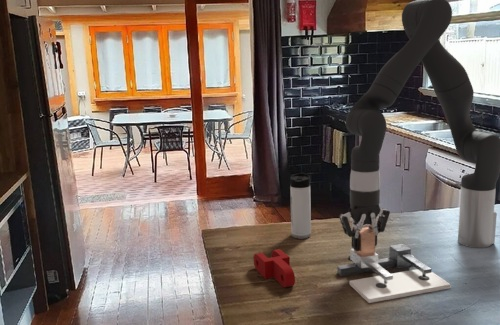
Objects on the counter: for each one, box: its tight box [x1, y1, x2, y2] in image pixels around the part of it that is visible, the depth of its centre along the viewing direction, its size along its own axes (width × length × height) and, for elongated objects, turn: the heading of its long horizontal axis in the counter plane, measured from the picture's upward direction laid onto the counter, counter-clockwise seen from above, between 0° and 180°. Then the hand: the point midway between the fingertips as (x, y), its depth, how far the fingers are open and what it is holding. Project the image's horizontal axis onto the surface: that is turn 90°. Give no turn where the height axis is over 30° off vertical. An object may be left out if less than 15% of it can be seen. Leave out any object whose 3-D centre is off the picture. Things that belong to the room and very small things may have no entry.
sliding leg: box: [349, 226, 393, 284], centre depth 126 cm, size 5×16×10 cm, turn 15°
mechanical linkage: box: [253, 248, 296, 288], centre depth 130 cm, size 16×7×5 cm, turn 21°
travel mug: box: [289, 172, 312, 240], centre depth 156 cm, size 6×7×20 cm
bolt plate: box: [349, 268, 451, 304], centre depth 122 cm, size 22×10×1 cm, turn 105°
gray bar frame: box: [336, 243, 433, 277], centre depth 127 cm, size 22×14×5 cm, turn 105°
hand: (364, 248), depth 130 cm, fingers closed on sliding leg, 4 cm apart
